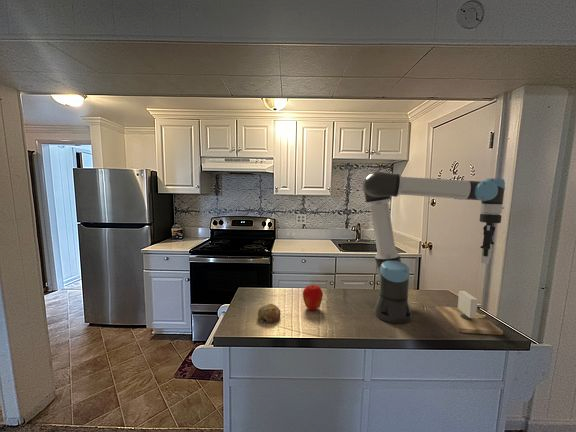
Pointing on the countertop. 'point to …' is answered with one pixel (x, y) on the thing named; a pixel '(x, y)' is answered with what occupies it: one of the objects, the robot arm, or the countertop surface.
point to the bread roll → (269, 313)
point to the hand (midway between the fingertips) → (485, 260)
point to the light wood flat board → (468, 322)
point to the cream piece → (467, 306)
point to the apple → (312, 297)
